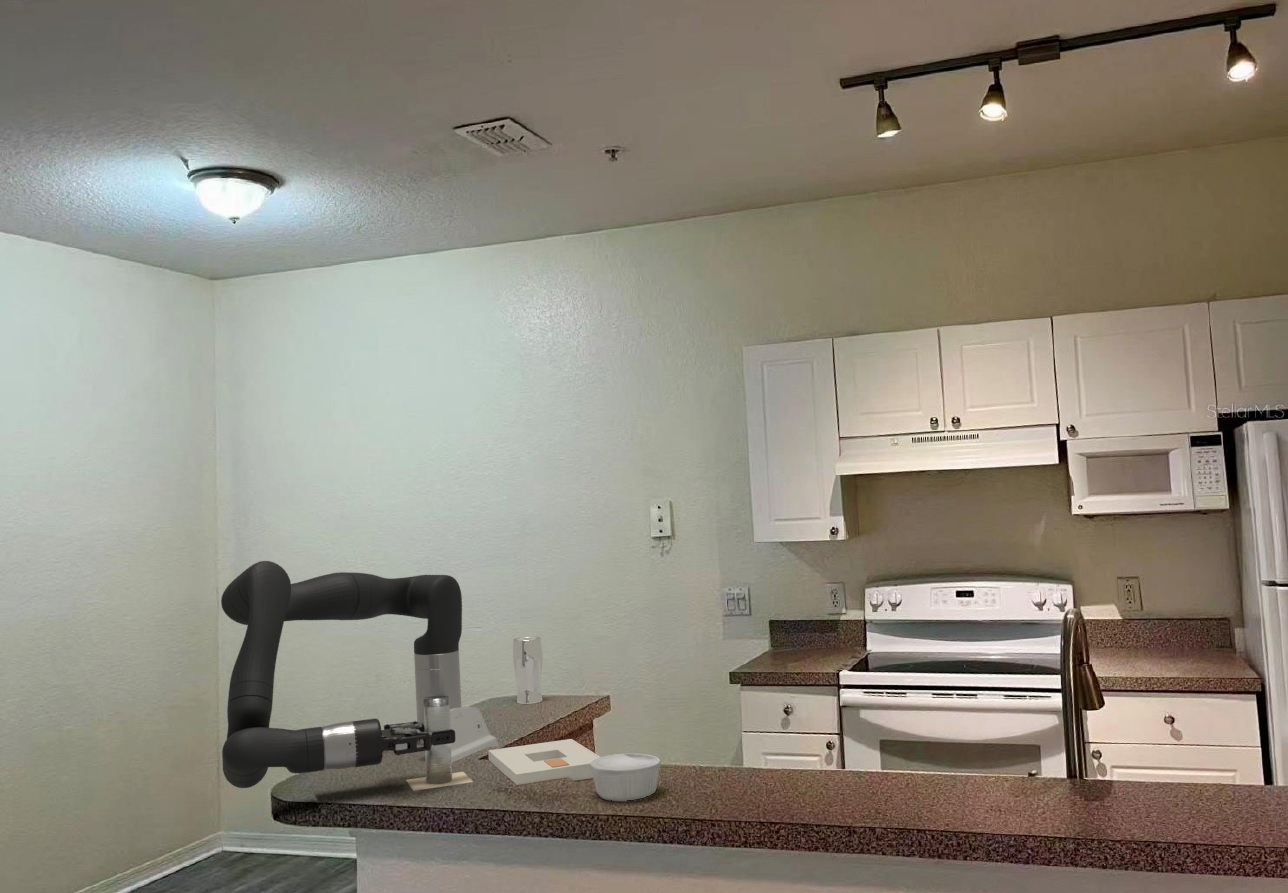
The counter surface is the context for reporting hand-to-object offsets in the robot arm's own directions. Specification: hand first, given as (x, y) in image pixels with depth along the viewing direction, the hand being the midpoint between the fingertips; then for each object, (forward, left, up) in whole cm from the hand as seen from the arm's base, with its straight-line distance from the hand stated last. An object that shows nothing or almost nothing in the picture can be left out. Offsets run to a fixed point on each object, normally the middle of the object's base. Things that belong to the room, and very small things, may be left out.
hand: (450, 731), depth 186 cm
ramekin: (+22, +24, -9) cm, 34 cm away
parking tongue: (0, -2, -9) cm, 9 cm away
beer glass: (-65, +32, -9) cm, 73 cm away
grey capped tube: (0, -2, -8) cm, 8 cm away
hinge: (-20, +6, -9) cm, 23 cm away
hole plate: (0, +17, -9) cm, 19 cm away
